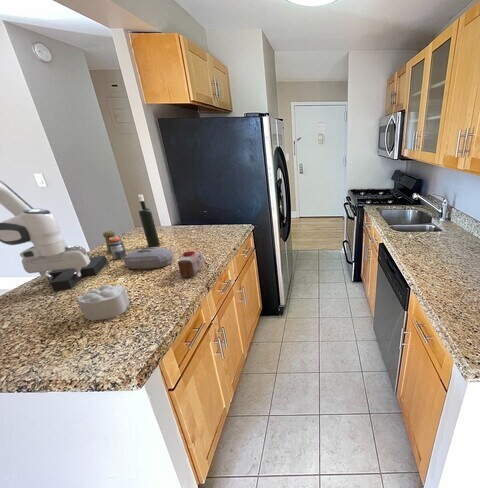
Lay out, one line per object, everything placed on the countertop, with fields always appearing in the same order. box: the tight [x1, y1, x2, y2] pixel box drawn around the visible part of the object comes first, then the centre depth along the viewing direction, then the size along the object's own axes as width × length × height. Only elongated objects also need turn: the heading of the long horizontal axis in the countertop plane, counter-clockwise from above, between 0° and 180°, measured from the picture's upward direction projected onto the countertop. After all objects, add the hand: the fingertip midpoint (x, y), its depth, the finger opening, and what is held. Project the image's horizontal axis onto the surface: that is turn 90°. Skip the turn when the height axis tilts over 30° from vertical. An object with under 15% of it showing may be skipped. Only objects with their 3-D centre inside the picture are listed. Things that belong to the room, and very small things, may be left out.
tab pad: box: [49, 268, 84, 292], centre depth 113 cm, size 6×13×4 cm, turn 20°
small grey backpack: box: [123, 246, 174, 270], centre depth 128 cm, size 15×8×20 cm
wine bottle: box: [137, 194, 161, 248], centre depth 147 cm, size 6×6×30 cm
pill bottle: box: [108, 236, 128, 261], centre depth 135 cm, size 6×6×11 cm
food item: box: [177, 249, 205, 278], centre depth 121 cm, size 14×8×10 cm, turn 8°
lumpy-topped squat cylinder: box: [76, 284, 131, 321], centre depth 93 cm, size 10×13×9 cm
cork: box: [102, 230, 116, 253], centre depth 145 cm, size 6×6×11 cm
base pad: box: [48, 255, 109, 281], centre depth 122 cm, size 16×14×4 cm
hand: (64, 278), depth 111 cm, fingers open, 8 cm apart
